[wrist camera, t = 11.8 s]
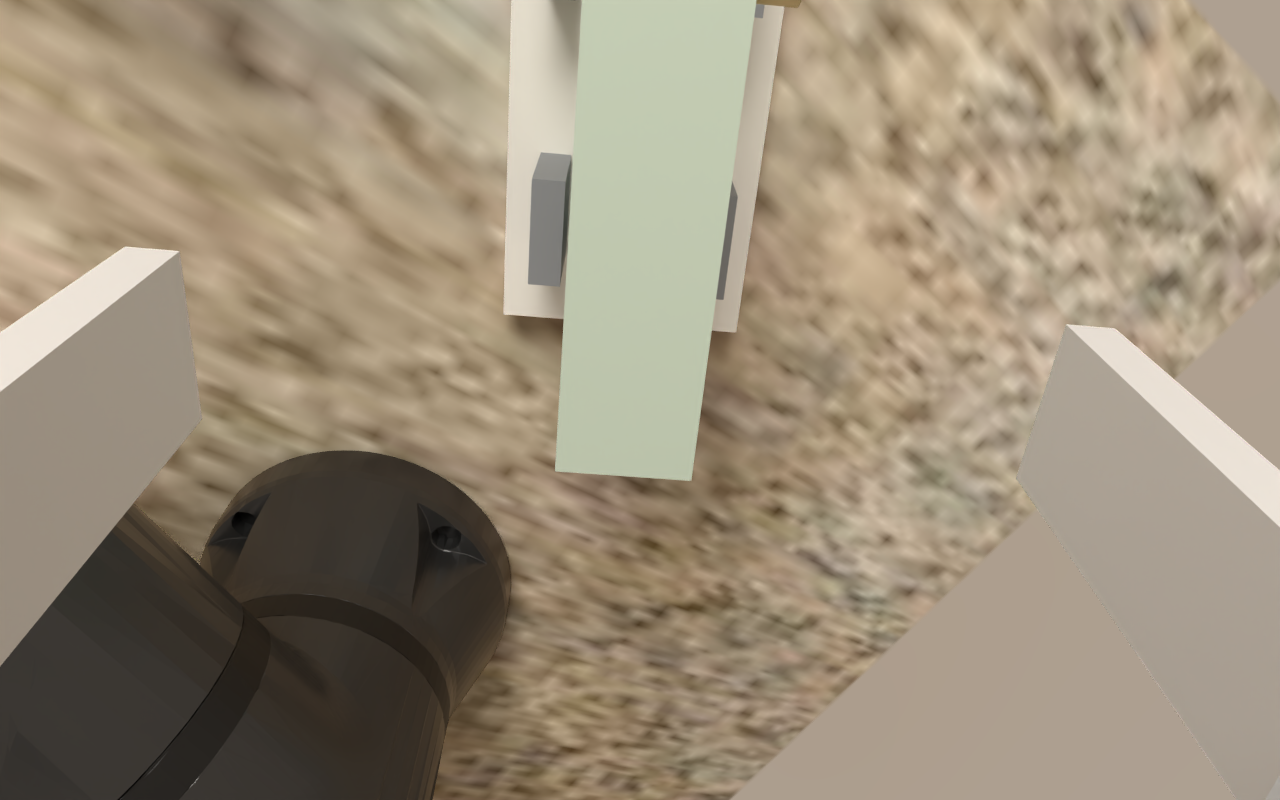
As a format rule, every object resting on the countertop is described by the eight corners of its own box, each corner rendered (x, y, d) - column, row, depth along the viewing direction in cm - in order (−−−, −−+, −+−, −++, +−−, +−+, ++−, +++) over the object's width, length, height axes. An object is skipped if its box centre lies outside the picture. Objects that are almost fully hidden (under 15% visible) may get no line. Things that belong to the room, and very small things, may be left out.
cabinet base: (731, 314, 43) (746, 373, 38) (508, 296, 42) (491, 353, 37) (807, -209, 34) (841, -229, 28) (523, -239, 33) (503, -267, 28)
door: (702, 262, 40) (748, 484, 25) (582, 252, 39) (554, 471, 24) (751, -120, 33) (853, -135, 18) (607, -134, 33) (591, -164, 18)
